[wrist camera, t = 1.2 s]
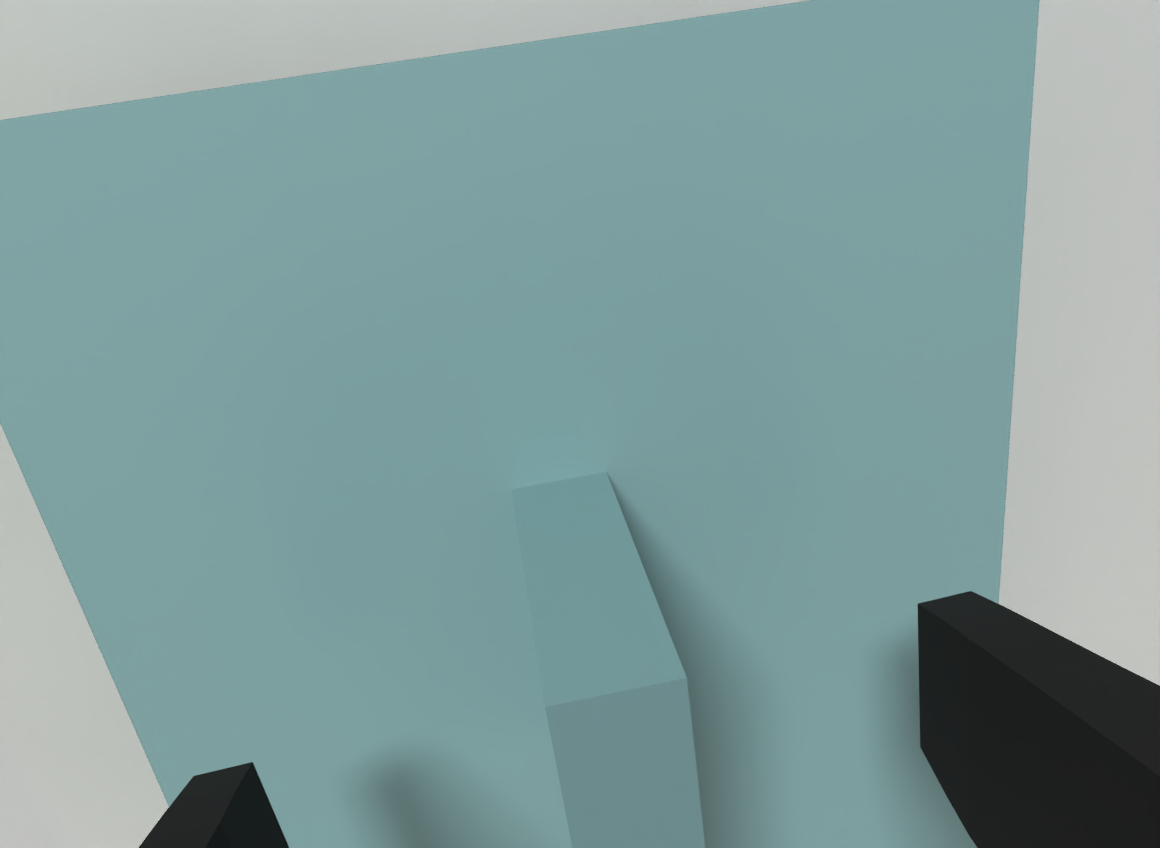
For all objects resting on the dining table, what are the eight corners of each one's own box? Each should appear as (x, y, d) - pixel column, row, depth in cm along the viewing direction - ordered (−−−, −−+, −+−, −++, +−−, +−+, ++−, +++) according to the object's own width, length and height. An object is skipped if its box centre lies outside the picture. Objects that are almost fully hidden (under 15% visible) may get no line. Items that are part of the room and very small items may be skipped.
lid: (944, -17, 11) (1426, -97, 6) (921, 790, 17) (1153, 1146, 11) (-23, 125, 10) (-564, 195, 5) (293, 929, 16) (211, 1391, 10)
